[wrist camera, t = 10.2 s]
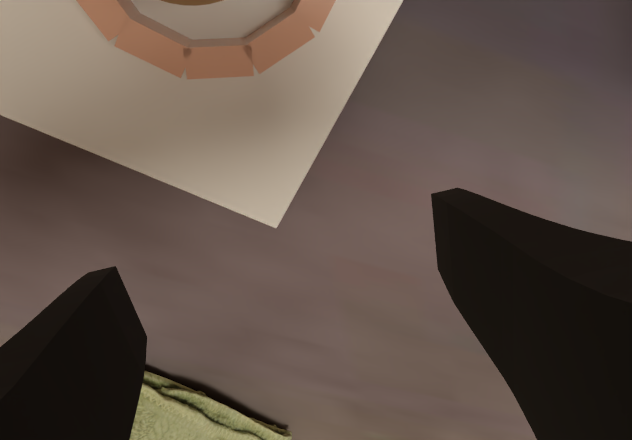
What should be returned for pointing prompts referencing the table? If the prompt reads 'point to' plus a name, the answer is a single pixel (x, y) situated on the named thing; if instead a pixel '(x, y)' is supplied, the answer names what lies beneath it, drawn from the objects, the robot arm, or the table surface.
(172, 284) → the table surface
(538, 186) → the table surface
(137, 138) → the socket board
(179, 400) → the washcloth
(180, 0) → the wooden peg
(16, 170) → the table surface
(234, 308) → the table surface
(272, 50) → the collar
